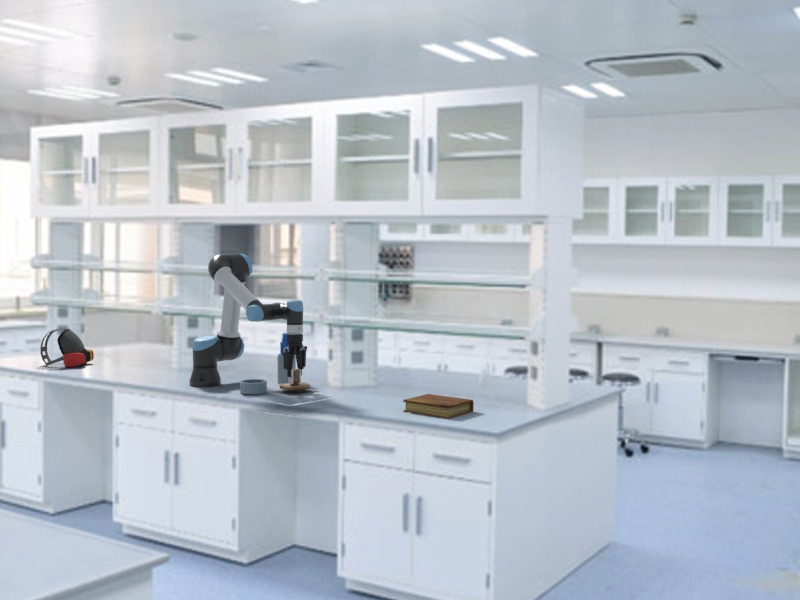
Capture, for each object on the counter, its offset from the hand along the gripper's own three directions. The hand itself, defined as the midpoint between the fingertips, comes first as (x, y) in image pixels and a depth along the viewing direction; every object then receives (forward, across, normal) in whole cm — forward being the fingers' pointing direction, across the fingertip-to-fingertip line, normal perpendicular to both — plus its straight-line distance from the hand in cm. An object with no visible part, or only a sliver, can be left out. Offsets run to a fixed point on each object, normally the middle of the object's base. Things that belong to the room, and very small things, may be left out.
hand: (294, 383), depth 425 cm
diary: (+5, +14, -76) cm, 78 cm away
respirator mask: (+7, -32, +158) cm, 161 cm away
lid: (+2, 0, 0) cm, 2 cm away
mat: (+5, 0, 0) cm, 5 cm away
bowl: (+5, -15, +12) cm, 20 cm away
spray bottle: (+5, +15, +24) cm, 29 cm away
